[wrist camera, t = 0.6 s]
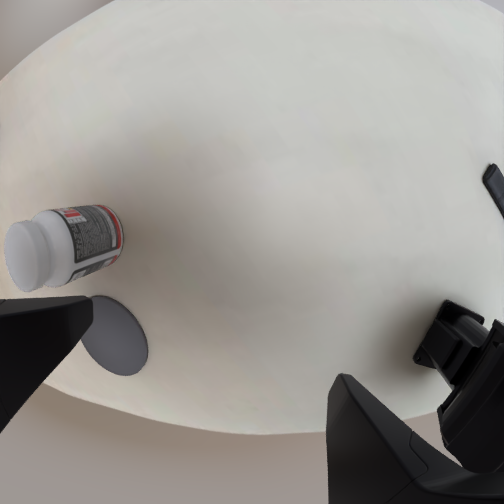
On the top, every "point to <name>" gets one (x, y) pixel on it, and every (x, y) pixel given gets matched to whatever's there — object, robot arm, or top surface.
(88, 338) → the coaster
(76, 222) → the pill bottle
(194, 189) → the top surface
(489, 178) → the usb stick
